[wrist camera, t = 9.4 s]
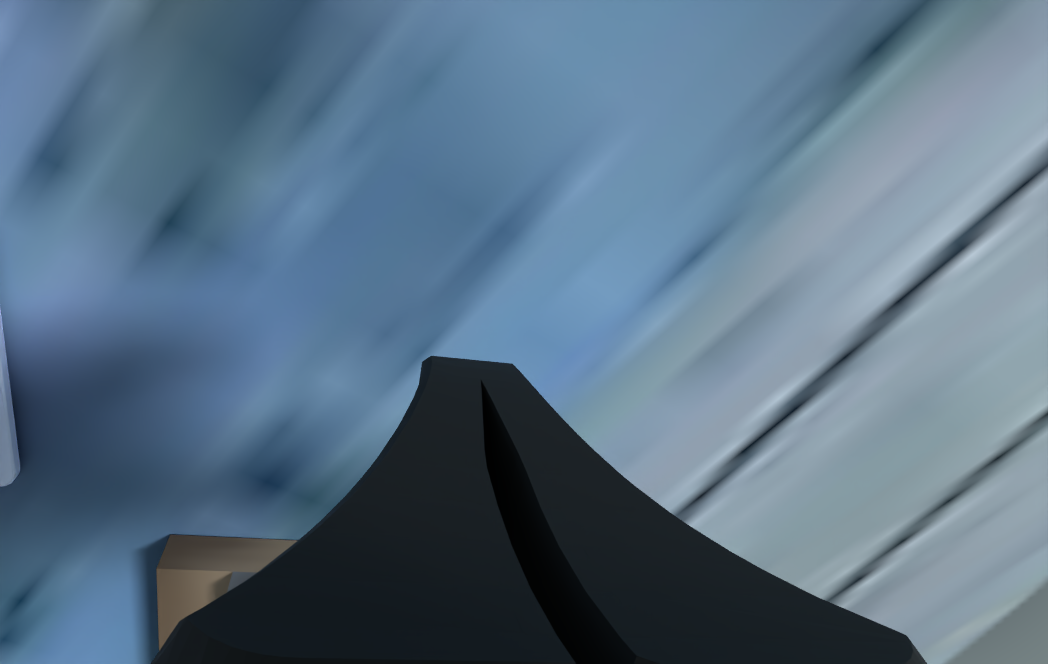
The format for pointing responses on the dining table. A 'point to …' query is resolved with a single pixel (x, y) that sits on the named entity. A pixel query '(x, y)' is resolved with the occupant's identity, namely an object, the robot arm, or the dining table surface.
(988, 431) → the dining table surface
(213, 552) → the rail board
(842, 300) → the dining table surface
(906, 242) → the dining table surface
